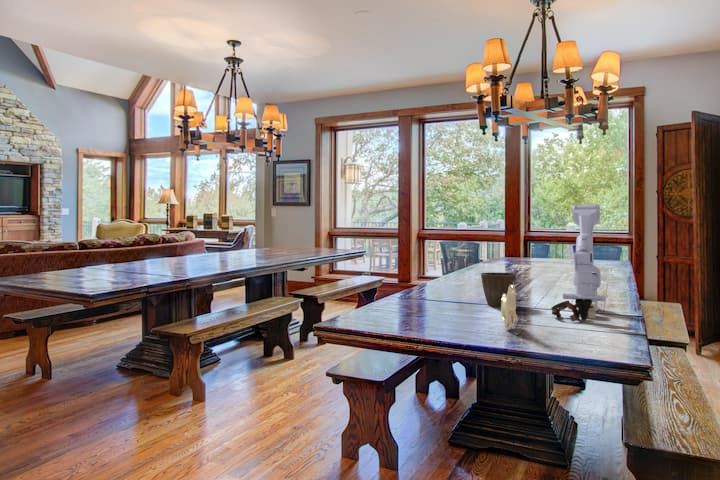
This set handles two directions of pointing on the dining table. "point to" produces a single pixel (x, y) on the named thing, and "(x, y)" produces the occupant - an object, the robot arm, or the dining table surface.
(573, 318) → the brown curved wooden piece
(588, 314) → the letter cube
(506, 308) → the unicorn
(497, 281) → the plant pot
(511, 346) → the dining table surface
